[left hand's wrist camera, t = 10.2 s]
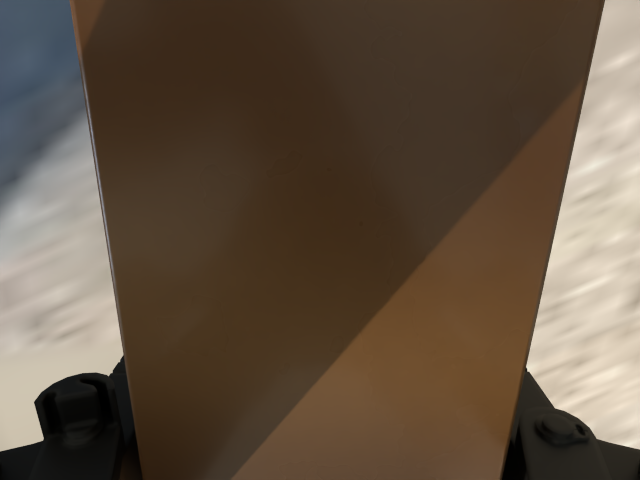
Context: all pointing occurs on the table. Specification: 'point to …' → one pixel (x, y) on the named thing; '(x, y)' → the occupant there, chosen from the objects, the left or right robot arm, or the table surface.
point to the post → (330, 224)
